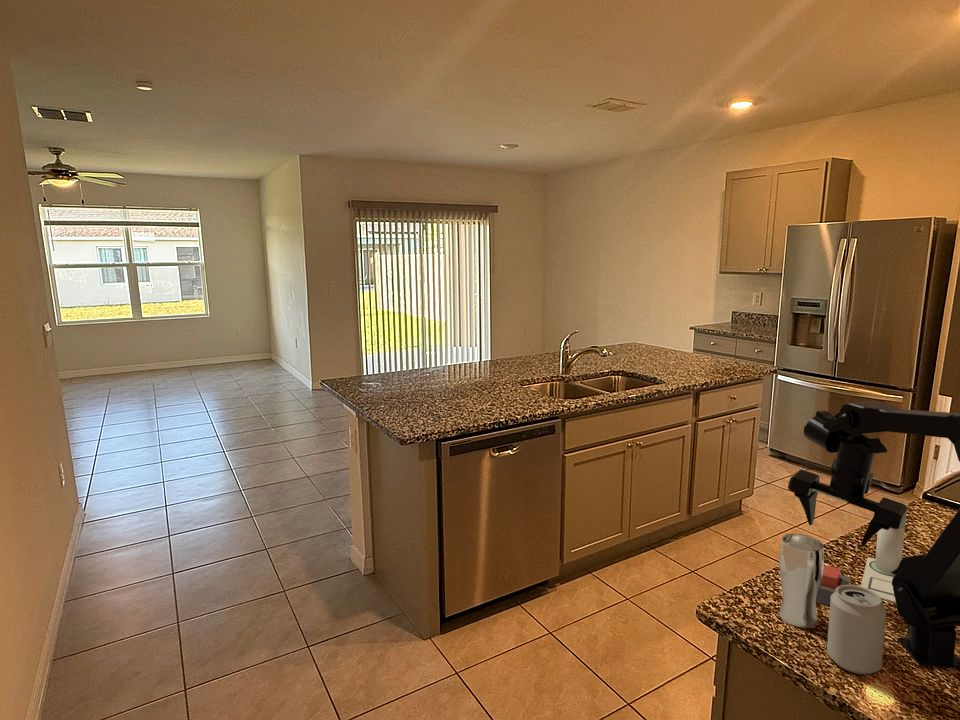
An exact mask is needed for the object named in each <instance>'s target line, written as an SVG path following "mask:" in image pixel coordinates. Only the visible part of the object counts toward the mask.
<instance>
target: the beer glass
mask: <svg viewBox="0 0 960 720" xmlns="http://www.w3.org/2000/svg"><path fill="white" fill-rule="evenodd" d="M824 546H825V545H824V543H823V542H822V541H821V540H819V539H818V538H815V537H814V536H811V535H806V534H802V533H787V534H784V535H783V536H781V545H780V552H779V561H778V563H779V565H778V566H779V575H780V583H781V589H782V600H781V604H780V609H779V612H778V613H779V617H780V618H781V619H782V620H783V621H784V622H785V623H787V624H788V625H791V626H793V627H797V628H802V629H810V628H811V629H812V628H814V627H816V625H817V624H818V615H817V602H816V599H817V595H818V592H819V589H820V585H821V582H822V577H823V570H824V565H825V555H824V554H825V553H824Z"/></svg>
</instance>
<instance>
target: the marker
mask: <svg viewBox="0 0 960 720" xmlns="http://www.w3.org/2000/svg"><path fill="white" fill-rule="evenodd" d="M906 522H907V515H906V516H905V519H904V520H903V522H902V524H901V525H900V527H899V529H893V528H890V529H889V530H885V529H881V530H879V531H878V532H877V533H876V535H877V536H876V537H877V538H876V548H875V559H876V560H875V567H876V568H877V569H879V570H881V571H883V572H886V573H891V574H893V573H892V571H894V570H896V569H897V568H898V566H899V564H900V561H901V560H902V559H903V550H904V549H903V548H904V537H905V530H906V529H905V528H906Z"/></svg>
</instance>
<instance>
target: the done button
mask: <svg viewBox="0 0 960 720" xmlns="http://www.w3.org/2000/svg"><path fill="white" fill-rule="evenodd" d="M840 575H841V568H838V567H834V566H831V565H827V564H824V570H823V577H822V582H821V585H822V586H825V587H829V588H833V589H836V588H837V587H838V586H839V582H840Z"/></svg>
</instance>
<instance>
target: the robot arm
mask: <svg viewBox="0 0 960 720" xmlns="http://www.w3.org/2000/svg"><path fill="white" fill-rule="evenodd" d="M815 413H816V414H815V416H813V417H811V418H810V419H809V420H808V422H807V423H806V425H804V426H803V435H804V437H805V438H806V439H807V440H809V441H810V442H812V443H813V444H815V445H817V446H819V447H820V448H822V449H823V450H825V451H826V452H828V453H831V454H835V453H836V456H835V457H834V458H833V462H832V464H831V468H830V471H829V472H830V474H831V478H830V482H829V485H828V484H825V483H823V482H821V481H820V480H821V477H820V475H819V474H818V473H814V472H810V471H807V470H804V469H799V470H798V471H796V472H795V473H794V474H793V475H792V476H791V477H790V479H789V481H788V485H787V489H788V491H790V492H792V493H793V496H794V497H796V498H798V500H799V502H800V503H801V506H802V508H803V511H804V513H805V517H806V520H807V522H808V525H809V526H812V525H813V523H814V521H815V516H816V507H817V498H818V495H819V494H822V495H825V496H828V497H830V498H833V499H836V500H839V501H842V502H845V503H848V504H850V505H854V506H856V507H858V508H861V509H865V510H867V511H870V512H872V513H873V517H872V518H871V520H870V521H869V523H868V526H867V528H866V530H865V533H864V535H863V538H862V540H861V547H865V546H866V545H867V543H868V542H869V541H870V540H871V539H872V537H873V536H874V535H875V534H878V531H879V530H881V529H885V530H889V529H890V528H893V529H899V527H900V525H901V524H902V522H903V520H904V519H905V516H906V517H907V512H908V508H907V506H906V504H905V503H902V502H899V501H896V500H893V499H890V498H888V497H884V496H883V497H882V498H881V500H880V501H879V502H878V501H875V500H872V499H869V498H867V497H865V495H868V493H869V490H870V487H871V484H872V482H873V478H874V474H875V473H873V472H871V470H872V465H873V462H874V461H873V460H874V457H875V455H878V454H885V453H888V449H887V447H886V445H885V444H883V443H882V441H881V439H880V438H879V437H874V438H871V437H870V436H867V435H865V434H872V433H886V432H890V433H898V434H906V435H915V436H916V435H918V436H925V437H934V438H943V439H944V438H945V439H948V441H950V442H951V443H952V444H953V447H954V450H955V453H956V456H957V459H958V462H959V463H960V412H945V411H934V410H933V411H931V410H917V409H916V410H915V409H903V408H899V407H897V406H895V405H893V404H890V403H887V402H882V401H879V400H874V401H873V400H871V401H859V402H858V401H857V402H848V403H844V404H842V406H841V408H840V410H839V412H838V413H836V414H835V415H833V414H831V412H829V411H827V410H817V411H816V412H815ZM892 573H893V574H895V576H894V577H893V579H892V586H893V591H894V596H895V600H896V603H895V604H896V609H897V613H898V616H899V617H900V618H902V619H904V621H905V623H906V625H908V631H907V632H908V633H907V637H898V639H897V643H899V644H900V645H901V646H902V647H903V648H904V650H905V651H906V652H907V653H908V654H909V655H910V656H911V658H913V660H914V661H915V662H916V663H917V664H918V665H920V666H922V667H935V668H949V669H951V668H952V669H960V659H959V658H958V657H957V656H956V654H955V651H956V643H957V642H956V641H957V630H956V627H957V626H960V508H958V510H957V512H956V513H955V514H954V515H953V517H952V518H951V520H950V521H949V523H948V524H947V525H946V526H945V528H944V529H943V530H942V532H941V534H940V535H939V536H938V538H937V539H936V540H935V542H934V543H933V544H932V546H931V547H930V548H929V549H928V551H927V553H924V554H916V555H910V556H909V555H908V556H904V557H902V560H901V561H900V564H899V566H898V568H897V569H896V570H894V571H892Z"/></svg>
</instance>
